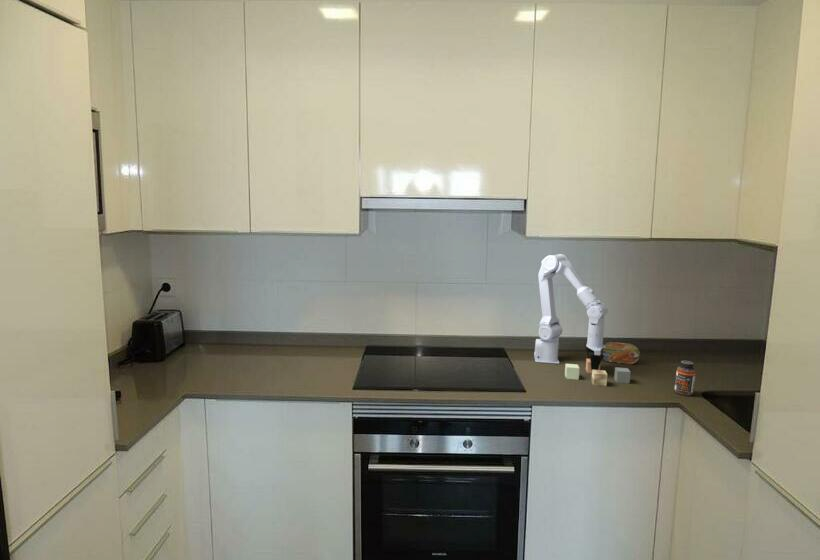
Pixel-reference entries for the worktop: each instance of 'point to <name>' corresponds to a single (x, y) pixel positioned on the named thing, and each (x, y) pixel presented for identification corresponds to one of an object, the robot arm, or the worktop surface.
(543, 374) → the worktop surface
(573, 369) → the sage block
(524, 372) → the worktop surface
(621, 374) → the slate block
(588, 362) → the terracotta block
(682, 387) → the supplement bottle
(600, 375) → the maple block
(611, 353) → the tin
